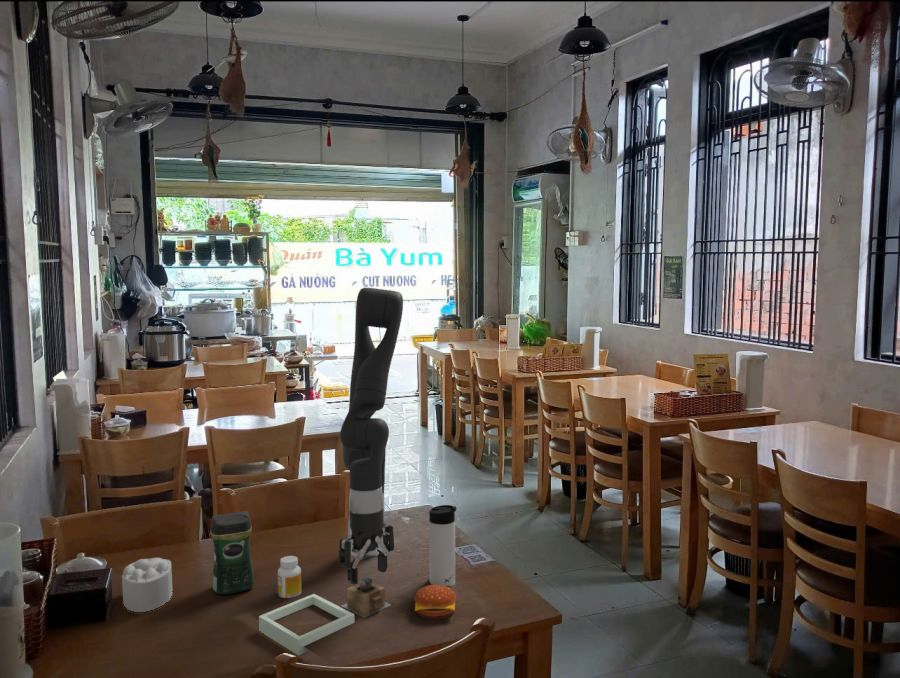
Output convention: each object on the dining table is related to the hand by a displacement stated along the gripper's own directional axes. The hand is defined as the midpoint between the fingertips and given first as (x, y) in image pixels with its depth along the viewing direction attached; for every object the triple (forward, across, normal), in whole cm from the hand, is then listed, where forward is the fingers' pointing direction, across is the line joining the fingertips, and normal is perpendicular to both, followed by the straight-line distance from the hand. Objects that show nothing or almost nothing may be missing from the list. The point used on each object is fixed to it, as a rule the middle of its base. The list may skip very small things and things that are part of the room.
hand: (367, 577), depth 161 cm
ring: (+7, 0, -1) cm, 7 cm away
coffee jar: (+8, +14, -34) cm, 37 cm away
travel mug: (+8, -21, +4) cm, 23 cm away
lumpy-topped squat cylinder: (+8, +30, -43) cm, 53 cm away
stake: (+8, 0, -1) cm, 8 cm away
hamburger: (+9, -9, +12) cm, 17 cm away
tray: (+8, +14, -4) cm, 17 cm away
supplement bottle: (+8, +8, -19) cm, 22 cm away
